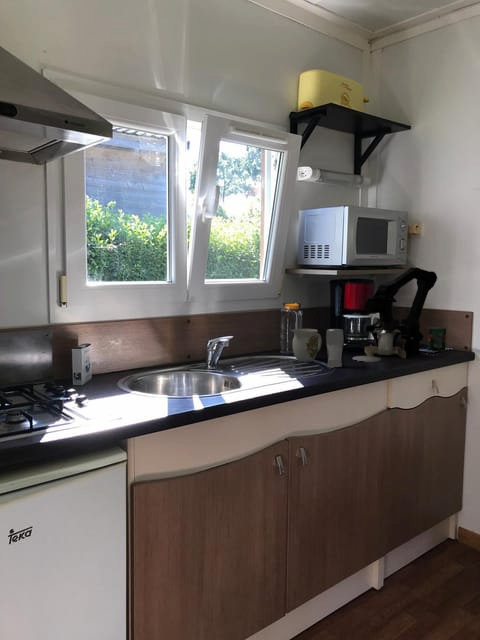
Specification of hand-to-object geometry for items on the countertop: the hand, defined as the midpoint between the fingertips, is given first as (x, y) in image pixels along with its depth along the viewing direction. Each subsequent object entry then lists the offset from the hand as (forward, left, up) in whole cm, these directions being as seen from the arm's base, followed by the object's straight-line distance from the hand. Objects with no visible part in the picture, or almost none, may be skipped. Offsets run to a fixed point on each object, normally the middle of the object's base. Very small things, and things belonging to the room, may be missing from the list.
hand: (385, 347), depth 247 cm
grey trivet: (+10, +10, -4) cm, 15 cm away
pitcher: (+36, +12, -4) cm, 38 cm away
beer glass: (+26, +26, -4) cm, 37 cm away
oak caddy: (0, 0, -4) cm, 4 cm away
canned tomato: (-28, -16, -4) cm, 33 cm away
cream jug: (0, +1, -3) cm, 3 cm away
